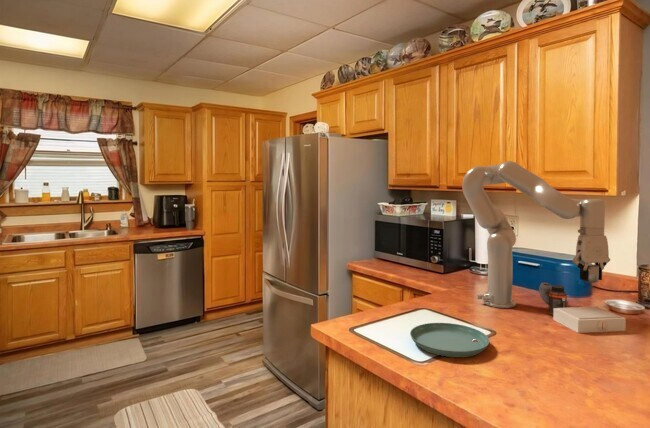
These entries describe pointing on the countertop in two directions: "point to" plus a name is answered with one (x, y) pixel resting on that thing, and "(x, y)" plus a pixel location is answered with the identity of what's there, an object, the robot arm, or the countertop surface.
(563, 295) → the supplement bottle
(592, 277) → the spacer
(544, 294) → the perforated stone tool
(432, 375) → the countertop surface
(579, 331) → the scale
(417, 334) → the saucer
